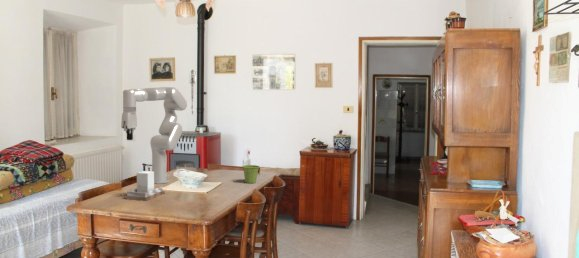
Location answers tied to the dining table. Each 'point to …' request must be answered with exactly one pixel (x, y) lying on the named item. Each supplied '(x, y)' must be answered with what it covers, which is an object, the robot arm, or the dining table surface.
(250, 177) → the plant pot
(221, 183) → the dining table surface
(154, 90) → the robot arm
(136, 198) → the board
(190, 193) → the dining table surface
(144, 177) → the supplement box
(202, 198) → the dining table surface
